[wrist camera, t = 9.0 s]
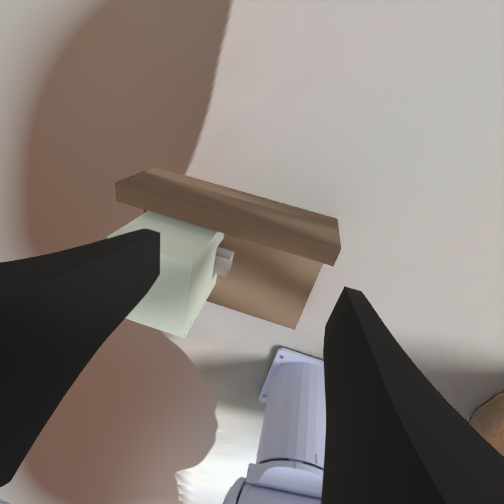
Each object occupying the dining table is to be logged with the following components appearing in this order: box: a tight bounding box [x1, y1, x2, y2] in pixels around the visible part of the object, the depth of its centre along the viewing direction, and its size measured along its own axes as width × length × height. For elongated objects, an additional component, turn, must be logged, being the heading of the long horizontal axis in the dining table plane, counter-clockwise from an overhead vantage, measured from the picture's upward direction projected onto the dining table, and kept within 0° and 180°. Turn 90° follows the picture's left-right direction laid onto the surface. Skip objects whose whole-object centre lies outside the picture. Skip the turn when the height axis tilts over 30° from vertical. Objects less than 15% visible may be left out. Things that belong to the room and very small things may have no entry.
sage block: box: [106, 211, 224, 338], centre depth 18 cm, size 6×5×6 cm
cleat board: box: [115, 167, 341, 330], centre depth 20 cm, size 10×14×4 cm
